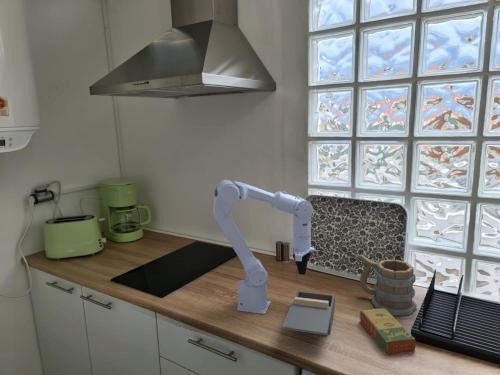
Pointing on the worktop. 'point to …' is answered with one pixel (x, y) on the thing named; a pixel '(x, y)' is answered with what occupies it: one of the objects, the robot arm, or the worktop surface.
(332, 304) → the box
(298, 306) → the lid
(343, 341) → the worktop surface
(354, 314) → the worktop surface
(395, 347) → the carton
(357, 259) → the tankard
